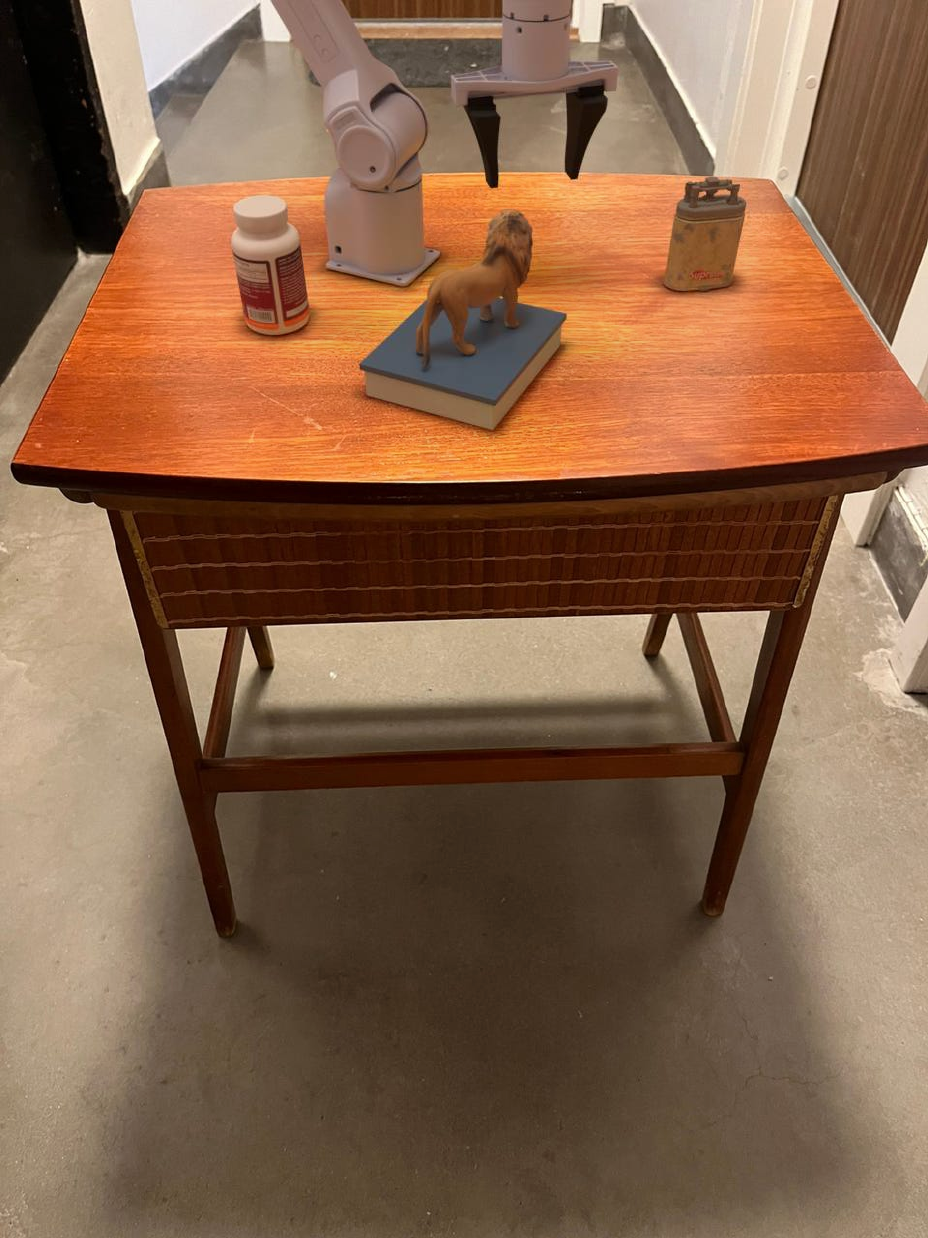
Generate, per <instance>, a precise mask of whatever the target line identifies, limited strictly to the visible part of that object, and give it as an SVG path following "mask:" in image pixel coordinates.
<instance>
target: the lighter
mask: <svg viewBox="0 0 928 1238" xmlns="http://www.w3.org/2000/svg"><path fill="white" fill-rule="evenodd" d="M740 187H741V183H733V180H732V179H729V178H726V179H719V177H717V176H707V177H705V178H704V180H701V181H695V182H693V181H691V180H689V181H687V182H686V183H685V184H684V196H683V198H682V199H680V200H679V201H678V202H677V203H676V206H675V207H676V208H675V209H676V210H675V213H674V215H673V221H672V228H671V232H670V233H671V235H670V241H669V246H668V252H667V259H666V266H665V273H664V277H663V280H662V281H663V285H664V286H666V288H668V289H670V290H674V291H679V292H687V291H701V292H706V291H709V290H711V289H717V288H725V287H727V286H730V285H731V284H732V283H733V275H734V272H735V271H734V270H735V266H736V260H737V256H738V251H739V245H740V241H741V237H742V233H743V227H744V223H745V219H746V218H745V217H746V213H745V212H746V207H747V200H746V199H745V198H743V197H741V196H738V195H739V194H738V193H739V192H740ZM723 190H724V191H725V190H727V191H728V192H730V194H717V193H718V192H719V191H723ZM704 192H705V194H704V195H701V196H700V193H704ZM716 194H717V195H716Z"/></svg>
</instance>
